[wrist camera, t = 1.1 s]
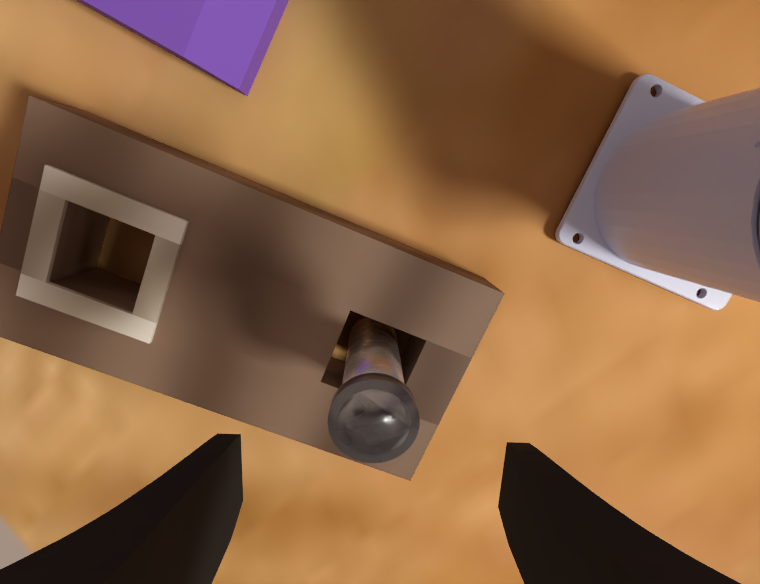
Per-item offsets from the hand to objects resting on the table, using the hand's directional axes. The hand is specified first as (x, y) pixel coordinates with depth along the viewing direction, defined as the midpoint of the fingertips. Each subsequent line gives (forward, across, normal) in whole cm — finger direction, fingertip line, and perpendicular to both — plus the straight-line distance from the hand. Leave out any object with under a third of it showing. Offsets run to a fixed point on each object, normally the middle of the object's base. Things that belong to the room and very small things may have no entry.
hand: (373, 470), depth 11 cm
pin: (+10, 0, 0) cm, 10 cm away
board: (+10, +6, -2) cm, 12 cm away
